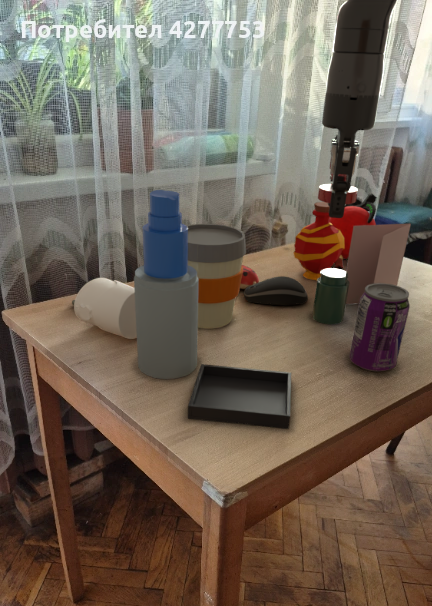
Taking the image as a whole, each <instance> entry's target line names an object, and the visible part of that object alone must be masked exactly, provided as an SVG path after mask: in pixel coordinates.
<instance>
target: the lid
mask: <svg viewBox="0 0 432 606" xmlns="http://www.w3.org/2000/svg"><path fill="white" fill-rule="evenodd" d="M331 185H332V184H331V183H325V184H320V185H319V187H318V194H317V199H318V201H319V202H326V203H330V201H331V194H332V192H331V190H332V189H331ZM358 191H359V190H358V188H357V187H356V186H352V185H351V188H350V190H349V191H348V193H347V196H346V203H345V205H346V204H352V203H355V202H356V199H357V198H358Z"/></svg>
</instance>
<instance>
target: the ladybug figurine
mask: <svg viewBox="0 0 432 606" xmlns="http://www.w3.org/2000/svg"><path fill="white" fill-rule="evenodd" d="M242 266H243V273H242V279H241V284H240V289H239V290H245V289H246V288H247V287H249V286H251V285H254V284H256V283H259V282H260V278H259V276H258V274H257V273H256V271H255V270H254V269H252V268H251V267H249V266H247V265H244V264H242Z"/></svg>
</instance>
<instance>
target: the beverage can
mask: <svg viewBox="0 0 432 606" xmlns="http://www.w3.org/2000/svg"><path fill="white" fill-rule="evenodd" d="M409 297H410V292H409V291H408V290H407V289H406V288H404V287H401V286H400V285H397V286H396V285H392V284H385V283H375V284H370V285H367V286H366V287H365V292H364V294H363V295H362V296H361V298H360V301H359V303H358V307H357V312H356V318H355V322H354V327H353V334H352V339H351V345H350V351H349V360H350V361H351V362H352V363H353V364H354V365H356V366H357V367H359V368H361V369H362V370H365V371H369V372H384V371H390V370H392V369H394V368H395V367H396V365H397V362H398V358H399V354H400V351H401V346H402V341H403V338H404V334H405V333H404V332H405V329H406V324H407V320H408V316H409V311H410V307H411V306H410V305H411V304H410V301H409Z"/></svg>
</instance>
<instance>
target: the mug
mask: <svg viewBox="0 0 432 606" xmlns="http://www.w3.org/2000/svg"><path fill="white" fill-rule="evenodd" d="M74 300H75V302H74V306H73V311H74V314H75V316H76V317H77V319H78V320H80V321H81V322H84V323H86V324H89V325H93V326H96V327H97V328H99V329H100V330H102V331H104V332H108V333H110V334H113V335H116V336H120V337H122V338H125V339H128V340H133V339H137V331H136V311H135V290H134V286H131V285H128V284H126V283H123V282H121V281H119V280H116V279H114V280H112V279H109V278H106V277H96V278H94V279H91V280H89V281H88V282H86V283H85V284H84V285H83V286H82V287H81V288H80V289H79V291H78V292H77V294H76V295H75V299H74Z"/></svg>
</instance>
